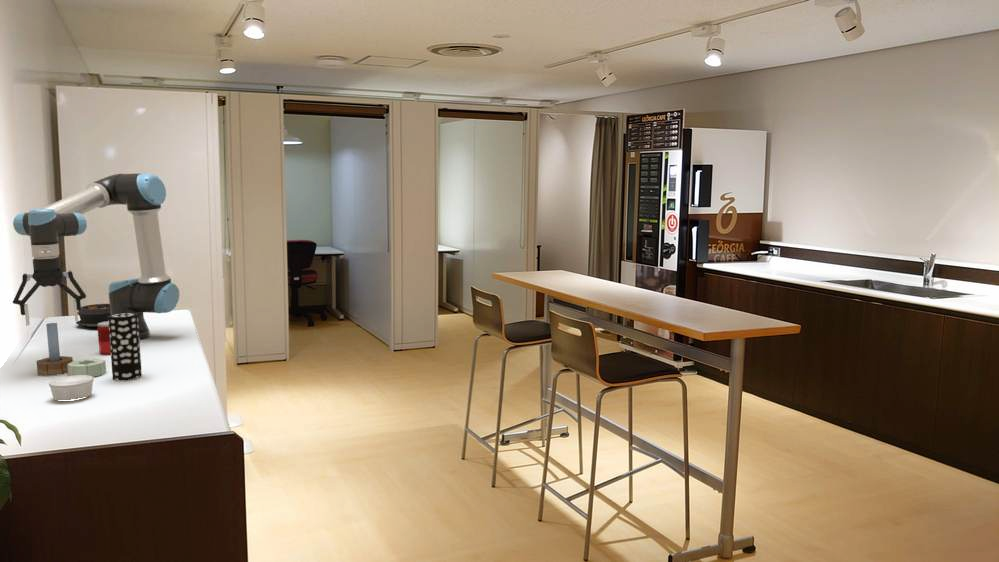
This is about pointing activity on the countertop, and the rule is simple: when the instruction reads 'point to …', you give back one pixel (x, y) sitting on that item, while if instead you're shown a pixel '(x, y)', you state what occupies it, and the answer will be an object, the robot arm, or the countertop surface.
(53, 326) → the dowel
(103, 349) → the canned food
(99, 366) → the sage bead
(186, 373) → the countertop surface
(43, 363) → the walnut bead
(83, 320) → the casserole
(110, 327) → the spotted tube
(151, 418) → the countertop surface
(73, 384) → the ramekin
